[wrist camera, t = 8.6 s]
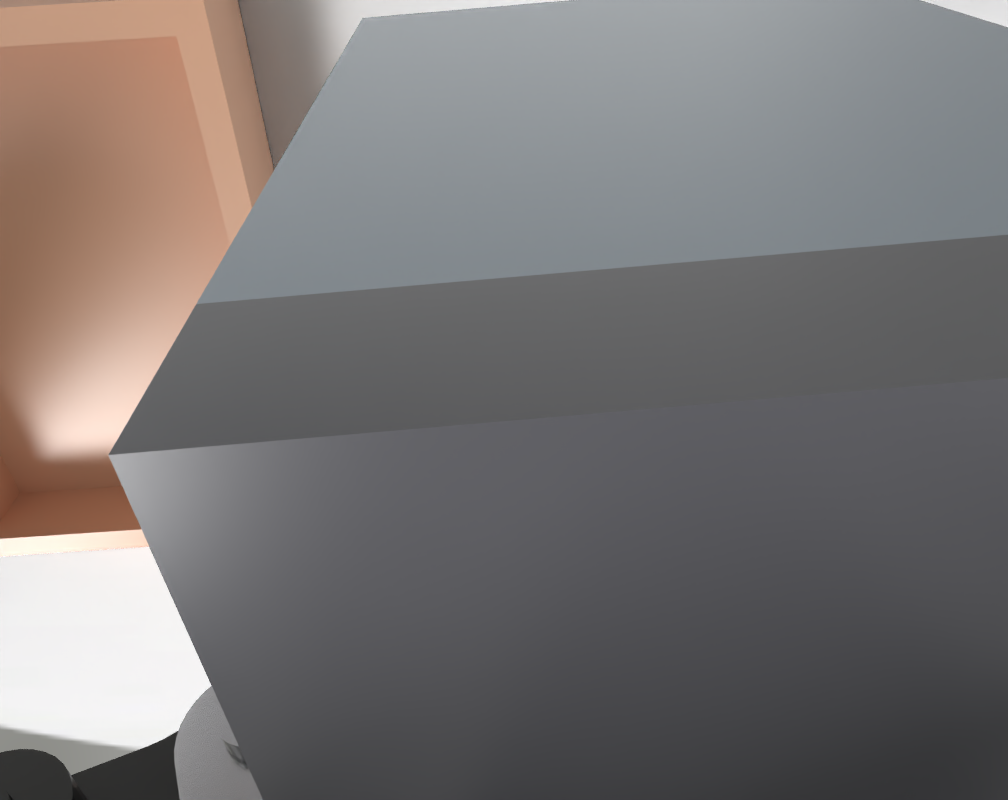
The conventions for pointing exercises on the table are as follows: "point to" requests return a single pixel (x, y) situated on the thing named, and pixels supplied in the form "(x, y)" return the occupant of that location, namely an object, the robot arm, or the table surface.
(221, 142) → the tray
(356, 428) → the grey rectangular prism
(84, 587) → the table surface
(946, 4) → the table surface
